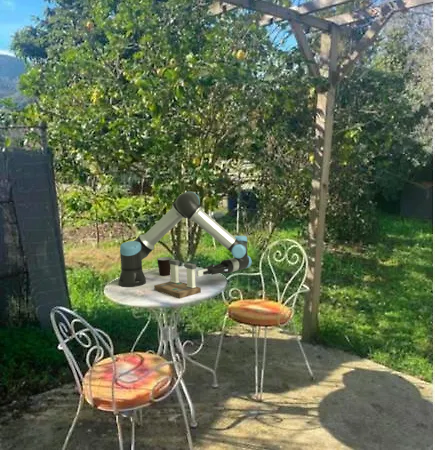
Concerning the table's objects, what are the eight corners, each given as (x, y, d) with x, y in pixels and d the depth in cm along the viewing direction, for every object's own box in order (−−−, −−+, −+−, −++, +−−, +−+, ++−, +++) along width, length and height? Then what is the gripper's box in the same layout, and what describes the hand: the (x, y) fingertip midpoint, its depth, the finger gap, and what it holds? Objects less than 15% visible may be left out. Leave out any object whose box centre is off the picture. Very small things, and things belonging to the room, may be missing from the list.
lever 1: (173, 280, 245) (172, 259, 243) (180, 282, 241) (179, 260, 239) (169, 281, 243) (168, 260, 242) (176, 283, 239) (175, 261, 237)
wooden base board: (175, 284, 247) (174, 280, 247) (200, 292, 231) (200, 287, 231) (154, 290, 238) (154, 285, 237) (179, 298, 222) (179, 293, 222)
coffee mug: (169, 276, 265) (168, 260, 264) (155, 276, 267) (155, 260, 266) (175, 271, 277) (174, 256, 275) (161, 271, 278) (161, 255, 277)
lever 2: (189, 285, 235) (188, 263, 233) (196, 287, 230) (196, 264, 229) (185, 286, 233) (184, 263, 231) (193, 288, 229) (192, 265, 227)
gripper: (237, 274, 246) (205, 282, 230) (221, 270, 255) (189, 278, 239) (237, 260, 244) (205, 268, 229) (221, 257, 254) (189, 265, 238)
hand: (197, 273), depth 234 cm, fingers closed
